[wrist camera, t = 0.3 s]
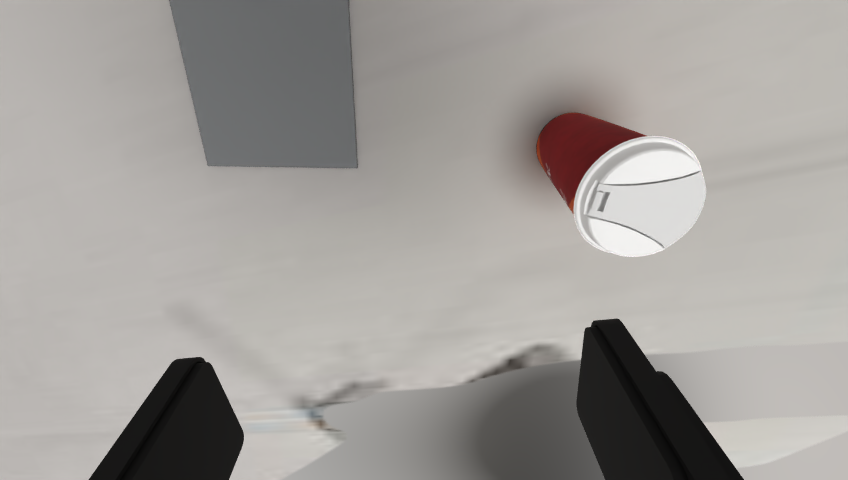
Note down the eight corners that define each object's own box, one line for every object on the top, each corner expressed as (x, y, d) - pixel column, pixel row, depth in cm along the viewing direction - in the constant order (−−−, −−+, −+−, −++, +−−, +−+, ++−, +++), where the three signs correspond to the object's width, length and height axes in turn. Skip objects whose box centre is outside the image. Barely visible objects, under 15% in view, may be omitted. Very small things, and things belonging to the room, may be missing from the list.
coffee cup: (514, 180, 40) (564, 257, 27) (536, 93, 36) (607, 133, 23) (596, 190, 41) (684, 270, 28) (626, 105, 37) (744, 151, 24)
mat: (166, -23, 32) (163, -23, 31) (347, -18, 32) (346, -18, 32) (209, 164, 39) (207, 165, 38) (357, 166, 39) (357, 168, 39)
